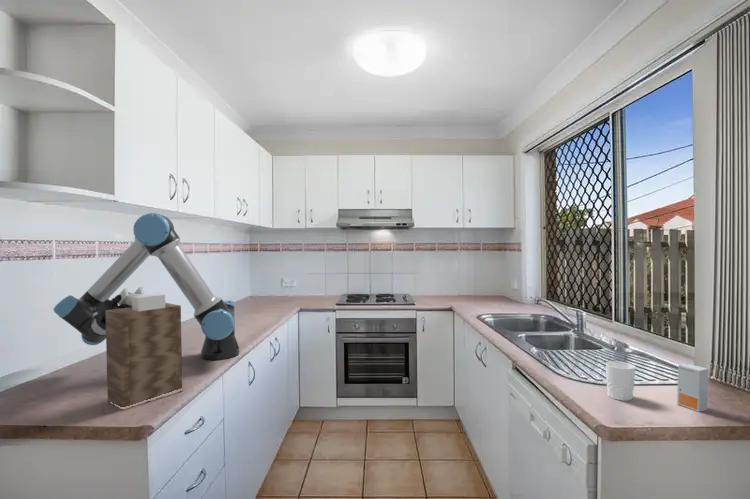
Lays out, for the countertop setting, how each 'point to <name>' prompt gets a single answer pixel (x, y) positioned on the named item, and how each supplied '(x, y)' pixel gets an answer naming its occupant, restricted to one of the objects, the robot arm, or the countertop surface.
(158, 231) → the robot arm
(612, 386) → the white cup
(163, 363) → the open wooden box
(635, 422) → the countertop surface
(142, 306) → the knob
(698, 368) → the skincare box
